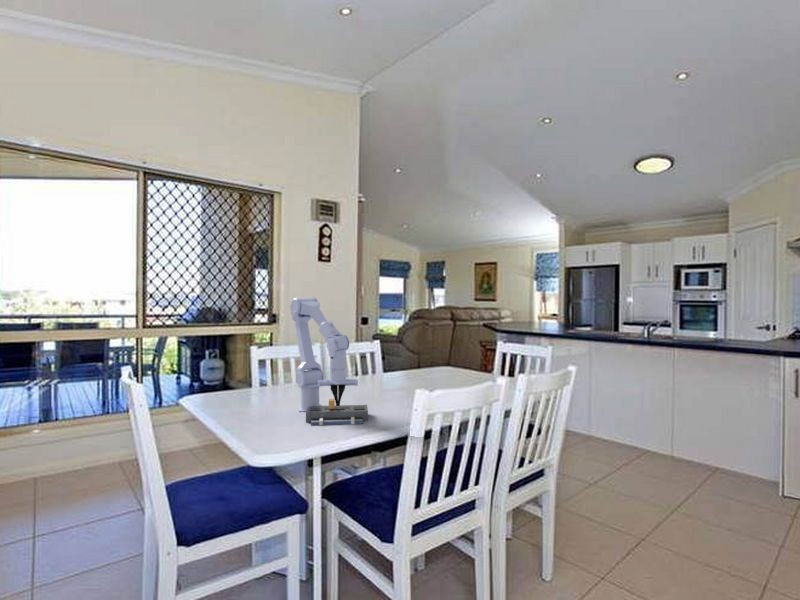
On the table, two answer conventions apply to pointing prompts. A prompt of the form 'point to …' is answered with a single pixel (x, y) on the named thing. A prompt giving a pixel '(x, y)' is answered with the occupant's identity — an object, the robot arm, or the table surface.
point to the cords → (336, 421)
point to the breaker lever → (331, 403)
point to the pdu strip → (337, 412)
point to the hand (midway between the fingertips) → (337, 405)
